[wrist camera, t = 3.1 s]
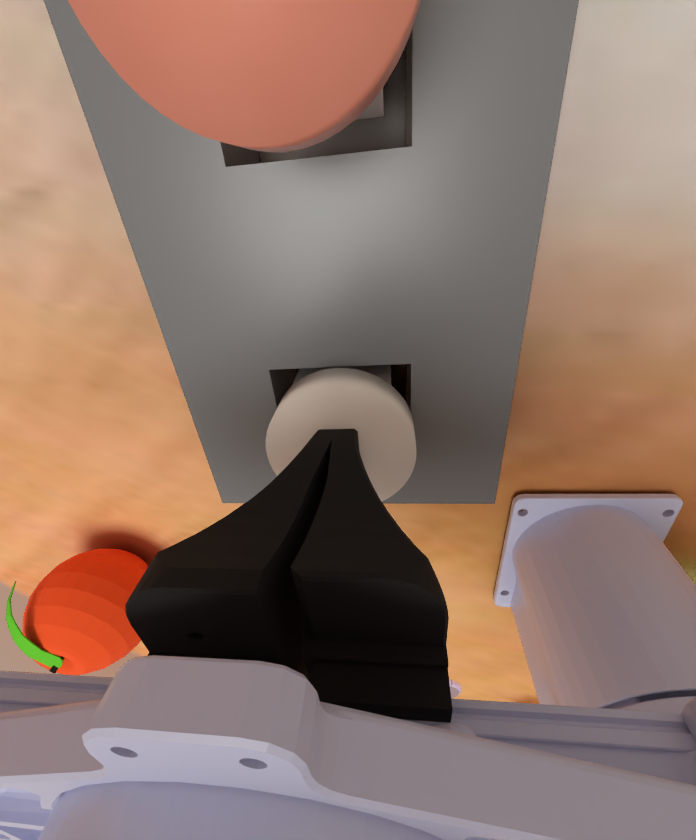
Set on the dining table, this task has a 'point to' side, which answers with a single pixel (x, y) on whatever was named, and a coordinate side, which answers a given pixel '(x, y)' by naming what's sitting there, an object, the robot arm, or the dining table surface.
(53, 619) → the clementine
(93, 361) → the dining table surface
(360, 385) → the plunger white
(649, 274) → the dining table surface
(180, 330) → the bar
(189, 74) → the plunger red
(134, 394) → the dining table surface
